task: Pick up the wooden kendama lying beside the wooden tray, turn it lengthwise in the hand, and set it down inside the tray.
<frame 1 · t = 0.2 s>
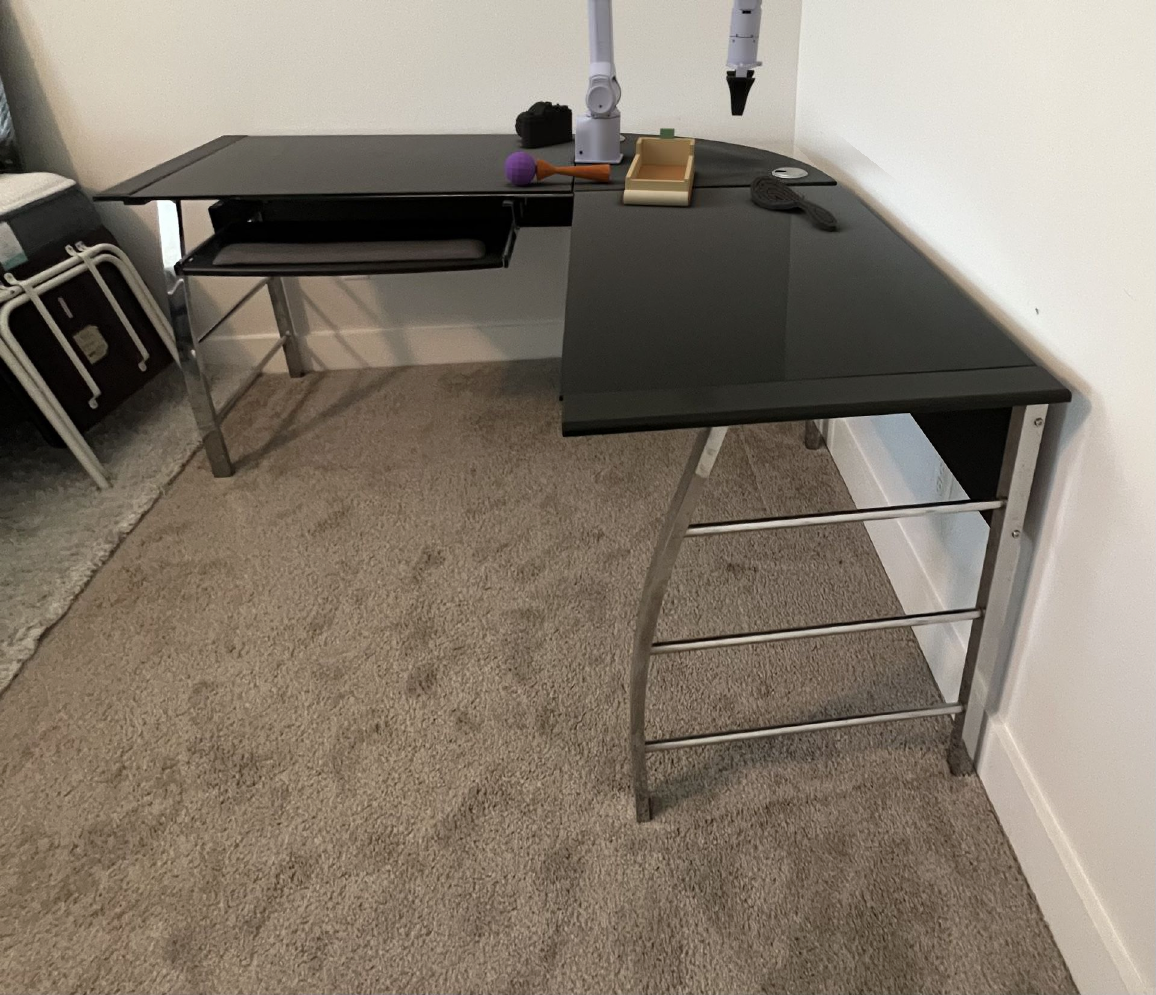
hand: (736, 112, 171), 10 cm above the table, tool pointing down, fingers open, 7 cm apart
kendama: (557, 184, 163), on the table
hairbrush: (793, 212, 146), on the table
wooden tray: (660, 187, 160), on the table
film camera: (539, 143, 196), on the table
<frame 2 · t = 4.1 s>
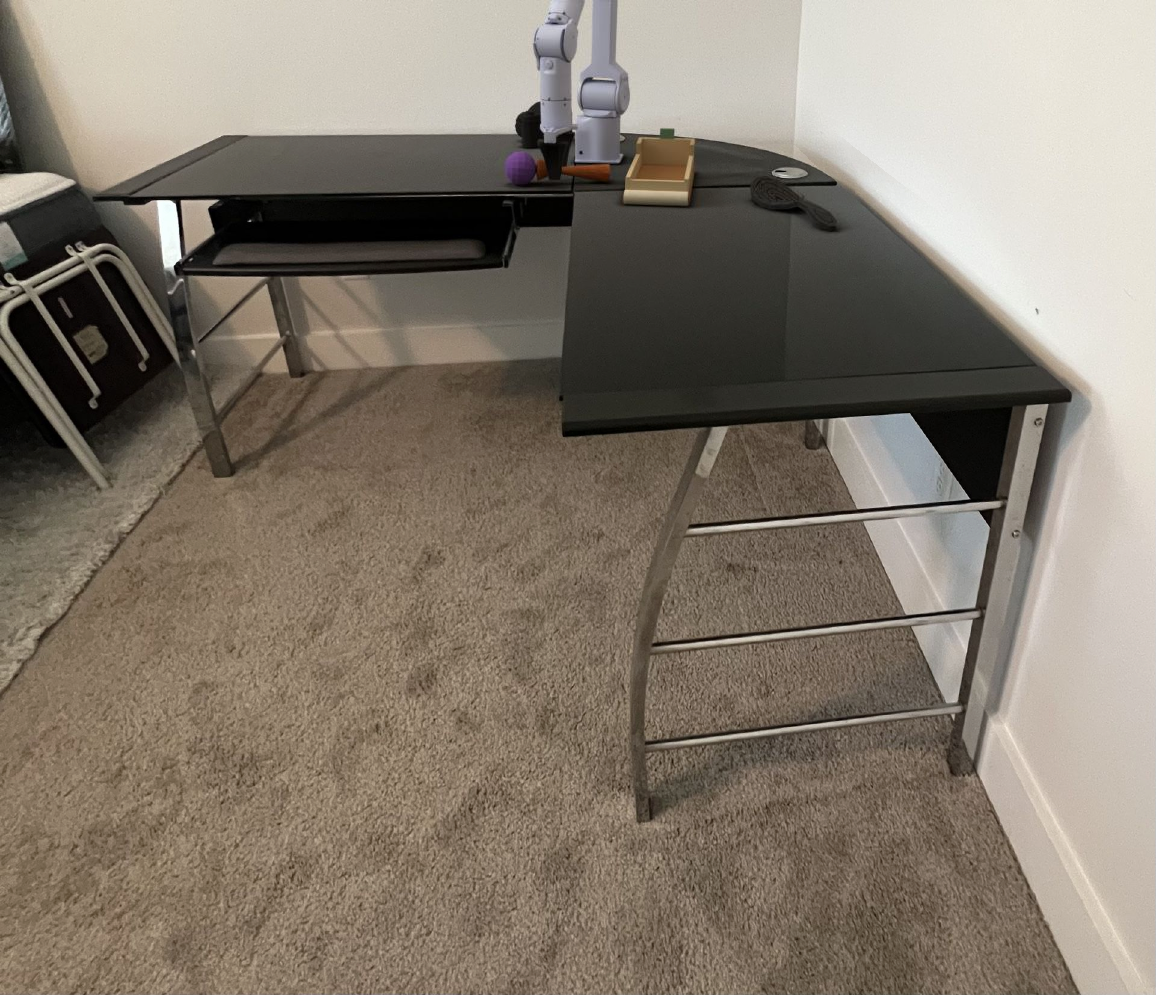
hand: (557, 176, 162), 1 cm above the table, tool pointing down, fingers closed on kendama, 5 cm apart
kendama: (557, 184, 163), on the table, touching gripper
everything else where it was.
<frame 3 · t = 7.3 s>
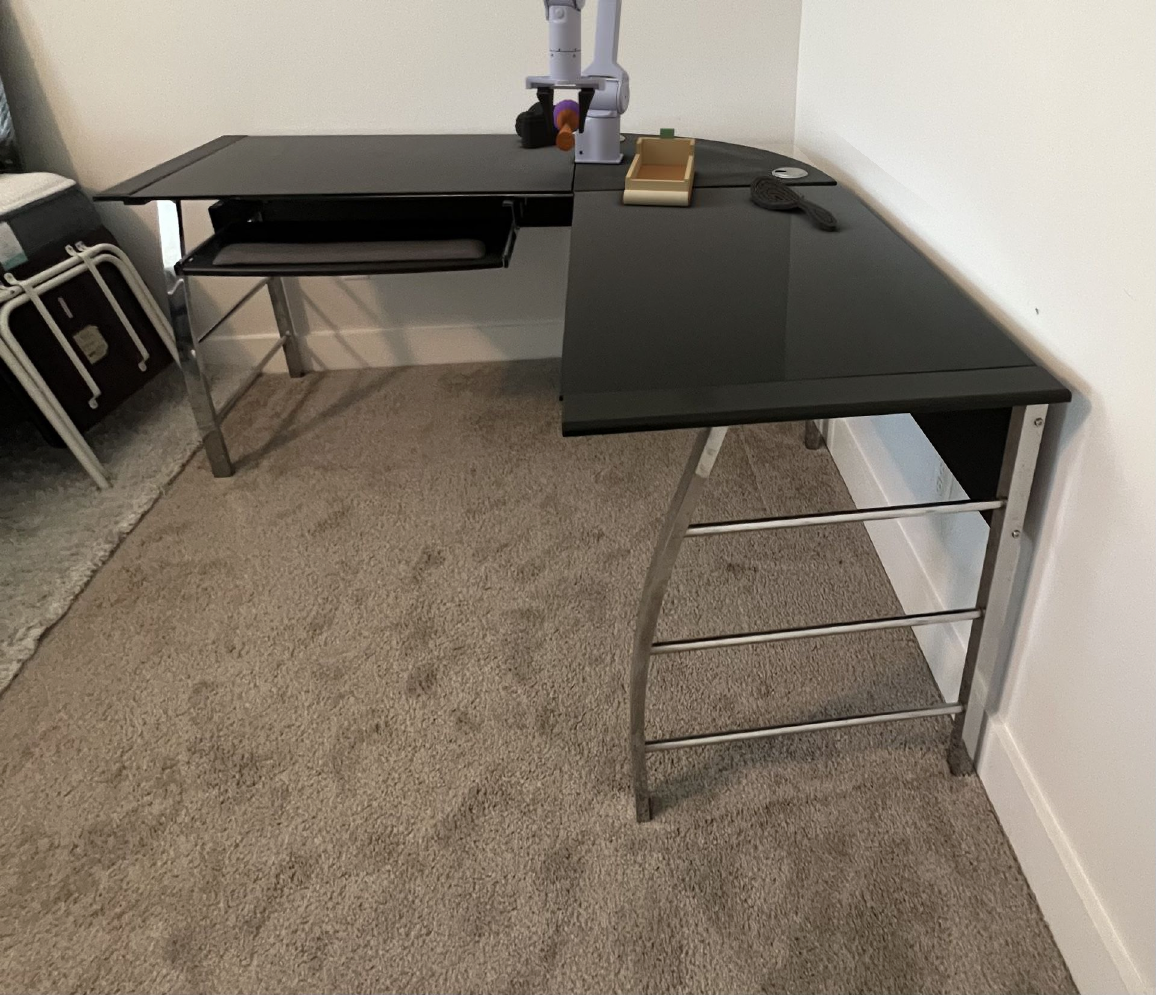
hand: (566, 132, 157), 9 cm above the table, tool pointing down, fingers closed on kendama, 5 cm apart
kendama: (567, 141, 158), point 8 cm above the table, touching gripper
everything else where it was.
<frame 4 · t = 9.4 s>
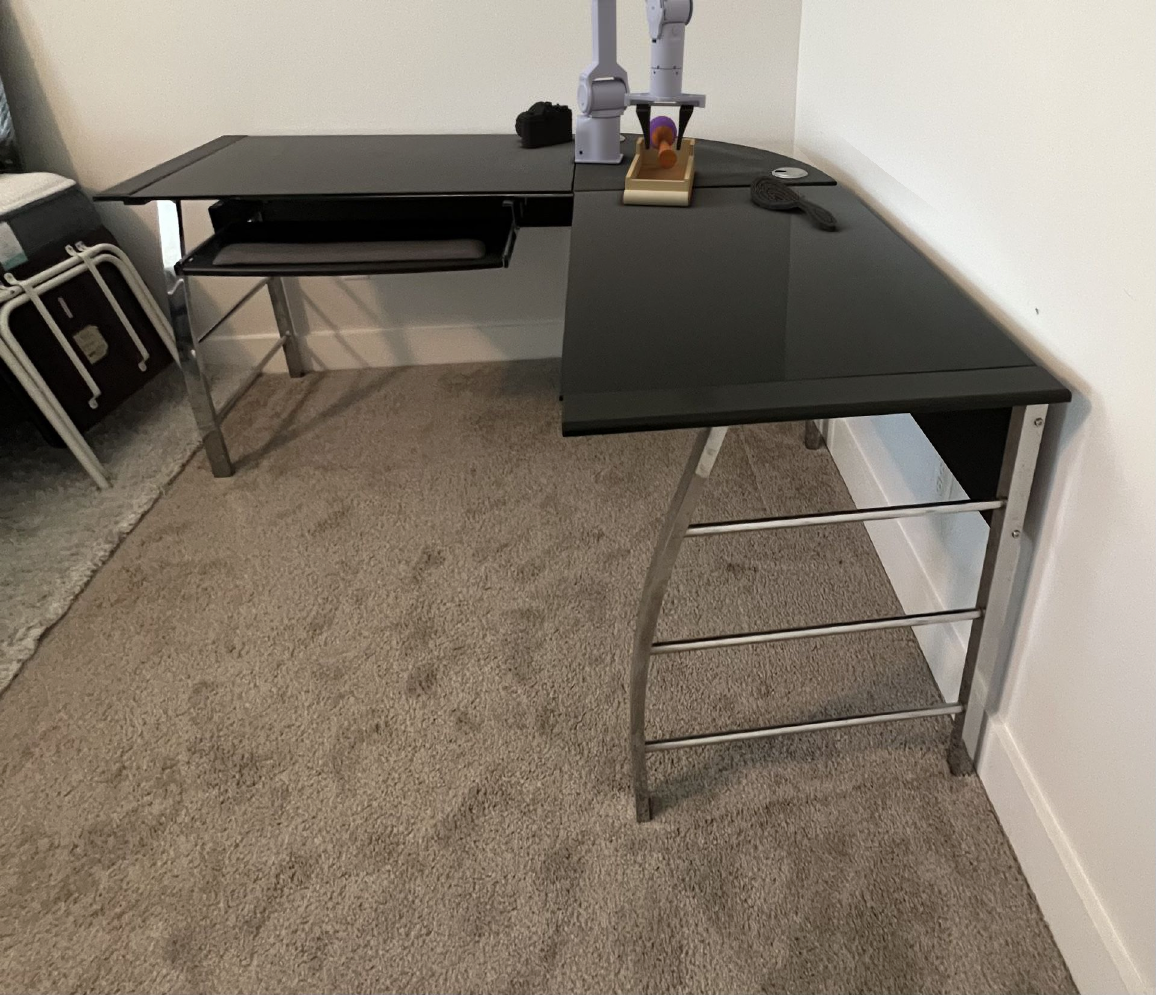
hand: (662, 148, 156), 7 cm above the table, tool pointing down, fingers closed on kendama, 5 cm apart
kendama: (663, 158, 157), point 5 cm above the table, touching gripper
everything else where it was.
when the fingers open (3 cm above the table, at t = 11.0 s): kendama stays where it is, resting on wooden tray.
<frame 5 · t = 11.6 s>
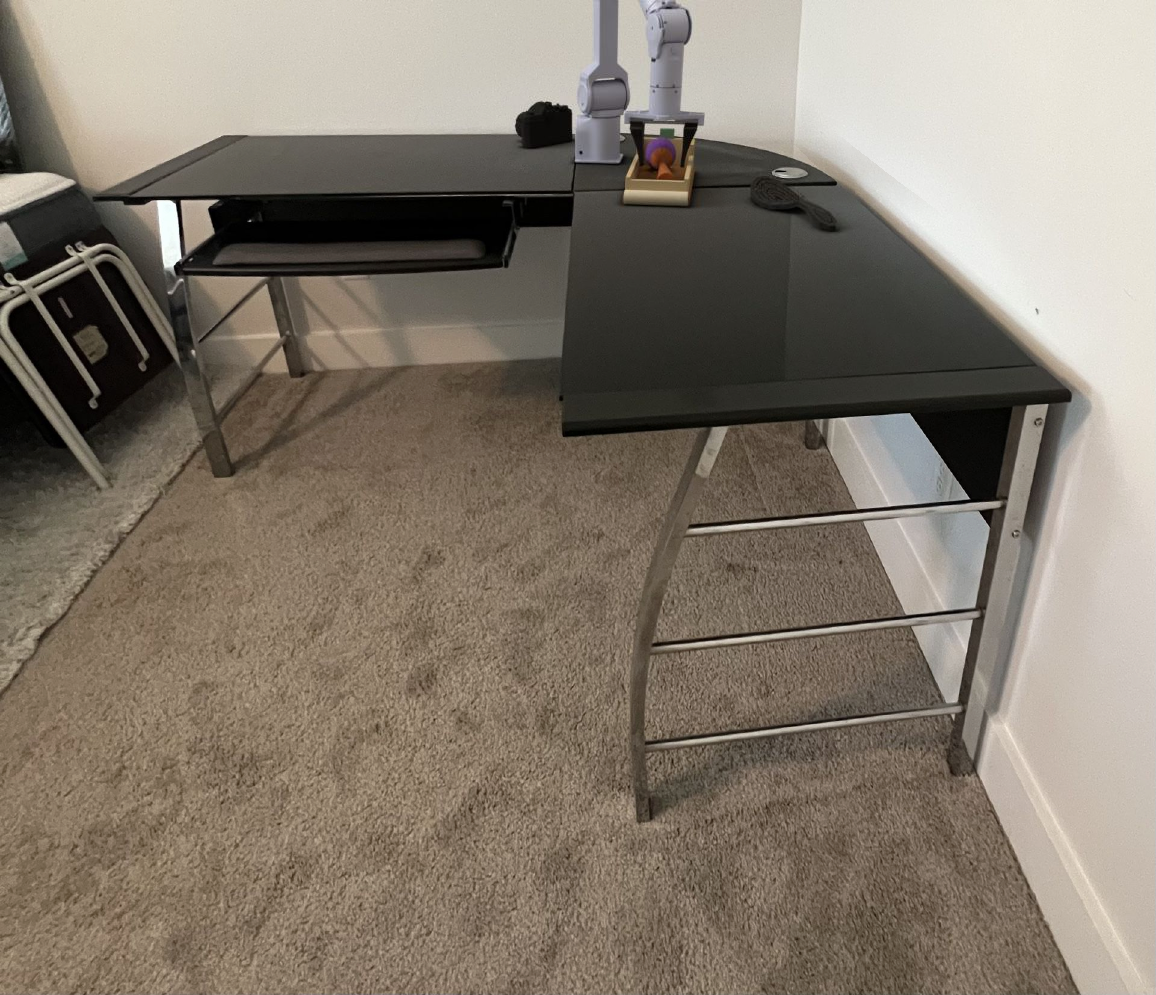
hand: (661, 165, 158), 4 cm above the table, tool pointing down, fingers open, 7 cm apart
kendama: (662, 179, 160), point 1 cm above the table, touching wooden tray
everything else where it was.
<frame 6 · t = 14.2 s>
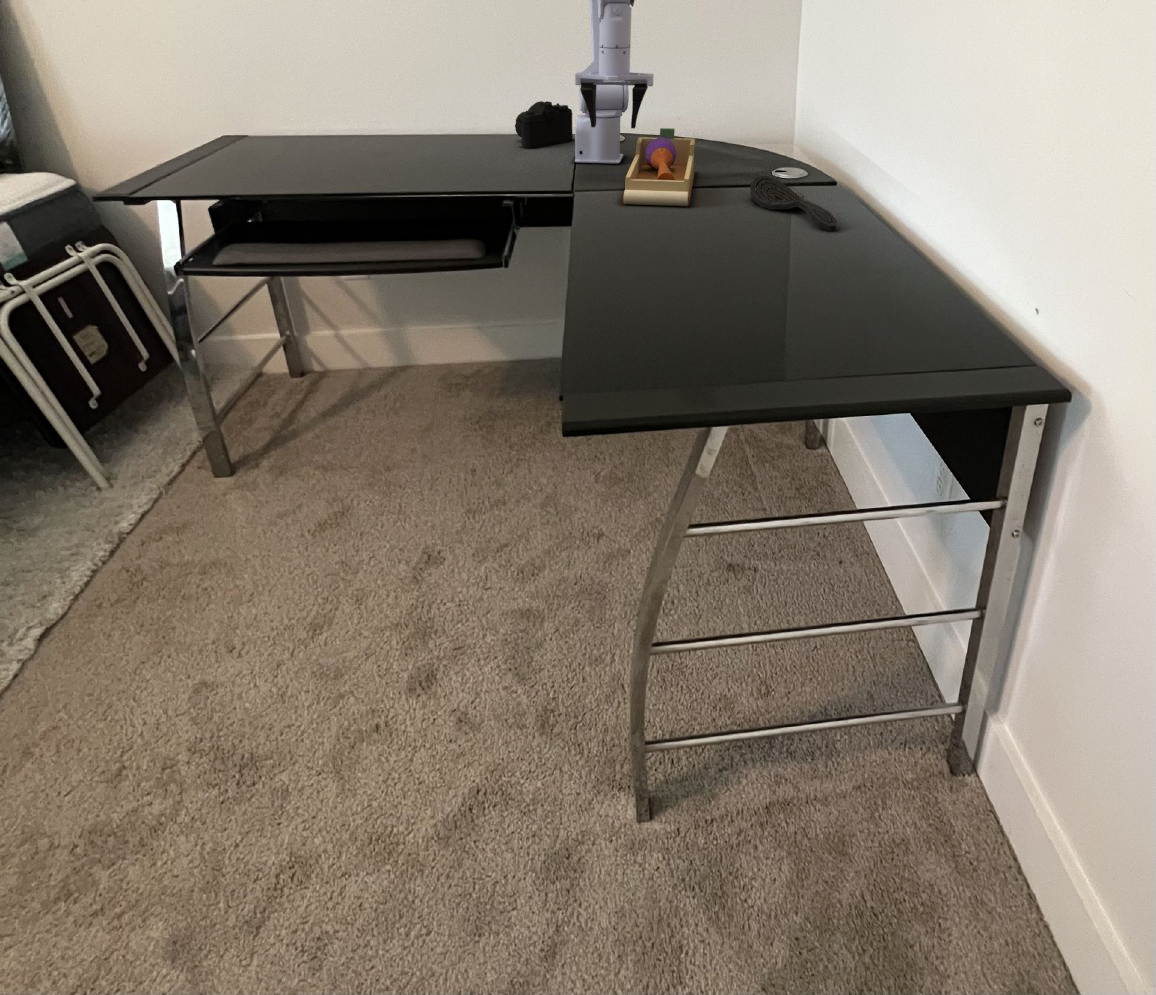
hand: (613, 127, 161), 9 cm above the table, tool pointing down, fingers open, 7 cm apart
nothing on the table moved.
at the end: kendama inside the target area on the wooden tray (0.3 cm from its centre), point 1.3 cm above the wooden tray's base; the gripper is holding nothing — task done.
